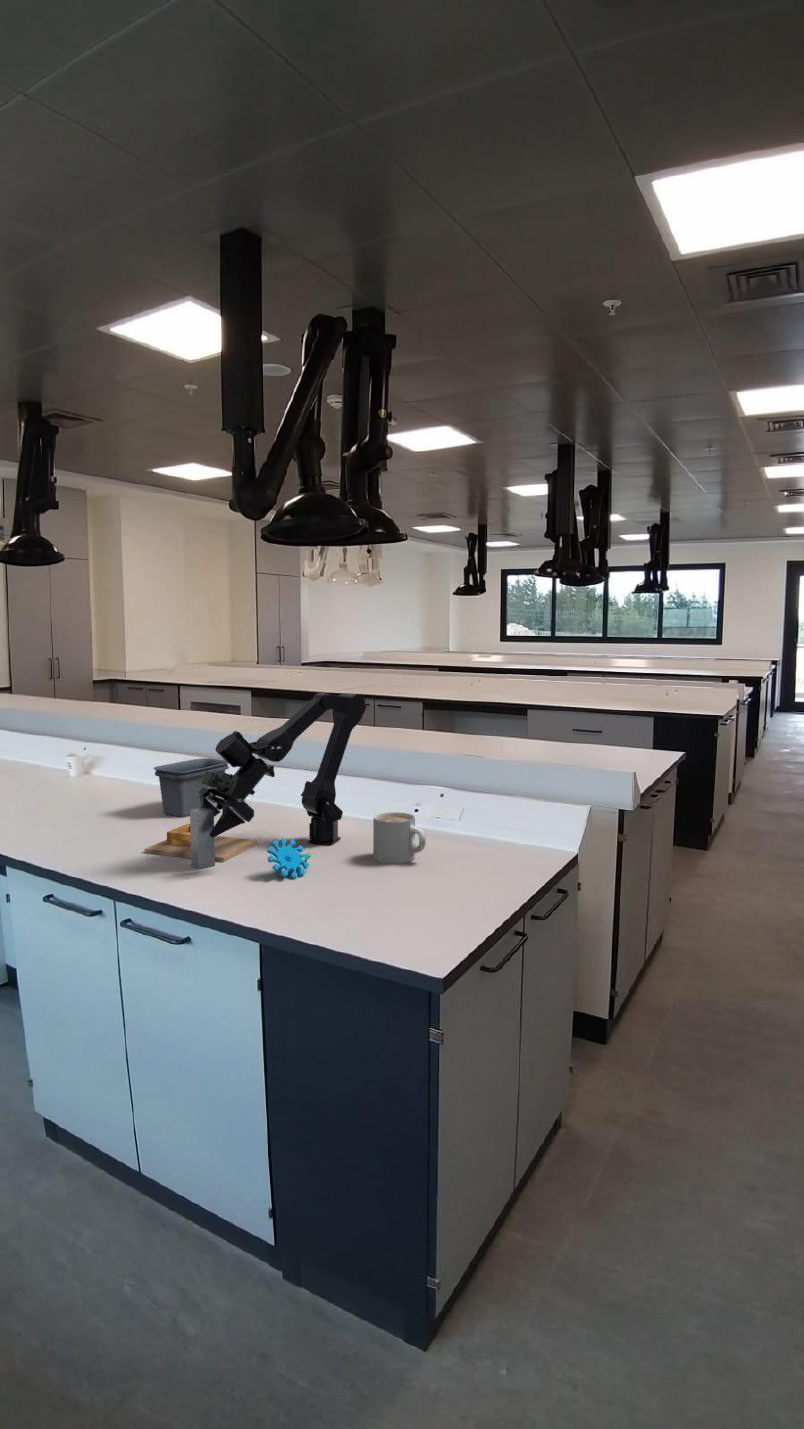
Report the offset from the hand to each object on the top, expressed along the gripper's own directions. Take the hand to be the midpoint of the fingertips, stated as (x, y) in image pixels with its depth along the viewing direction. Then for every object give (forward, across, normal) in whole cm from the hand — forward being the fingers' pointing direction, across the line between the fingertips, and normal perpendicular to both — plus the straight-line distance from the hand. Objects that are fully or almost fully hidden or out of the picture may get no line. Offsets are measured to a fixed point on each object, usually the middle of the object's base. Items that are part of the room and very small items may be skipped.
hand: (202, 832), depth 173 cm
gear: (-4, +17, +15) cm, 23 cm away
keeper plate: (+1, -13, +10) cm, 16 cm away
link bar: (+6, 0, +6) cm, 8 cm away
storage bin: (-9, -54, +20) cm, 58 cm away
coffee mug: (-22, +24, +33) cm, 46 cm away
